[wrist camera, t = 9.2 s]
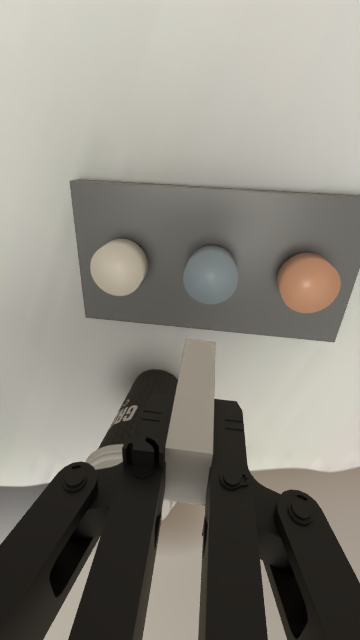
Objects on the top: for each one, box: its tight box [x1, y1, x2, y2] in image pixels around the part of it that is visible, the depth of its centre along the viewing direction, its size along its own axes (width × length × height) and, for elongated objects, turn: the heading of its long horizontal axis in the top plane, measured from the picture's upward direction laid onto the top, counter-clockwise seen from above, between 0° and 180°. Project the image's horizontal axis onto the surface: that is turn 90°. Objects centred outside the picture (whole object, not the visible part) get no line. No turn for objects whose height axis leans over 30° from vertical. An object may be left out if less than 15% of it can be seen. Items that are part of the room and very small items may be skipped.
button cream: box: [90, 239, 148, 296], centre depth 29 cm, size 5×5×4 cm
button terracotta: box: [277, 253, 341, 313], centre depth 28 cm, size 5×5×4 cm
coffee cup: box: [86, 370, 178, 520], centre depth 34 cm, size 10×10×15 cm
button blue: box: [183, 245, 238, 304], centre depth 28 cm, size 5×5×4 cm
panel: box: [70, 180, 360, 342], centre depth 30 cm, size 27×14×2 cm, turn 87°
